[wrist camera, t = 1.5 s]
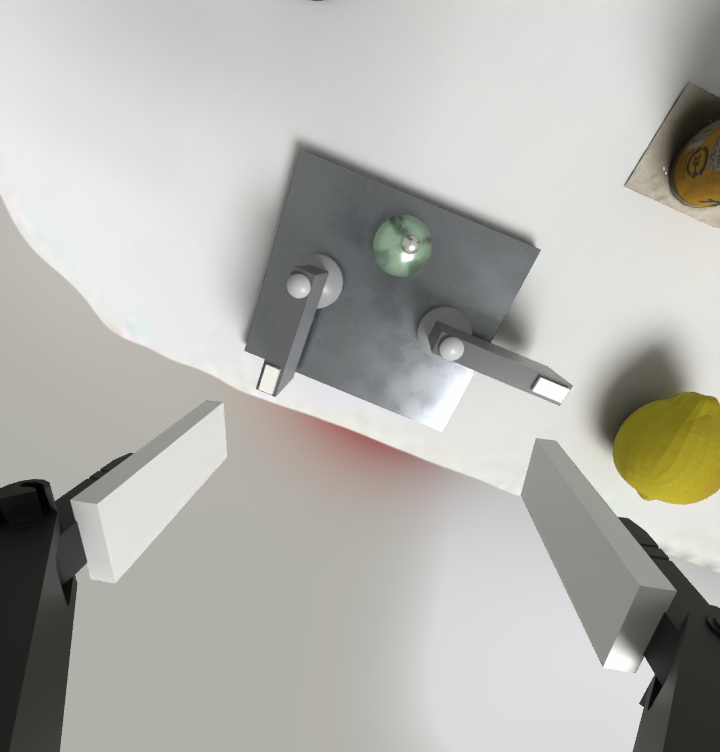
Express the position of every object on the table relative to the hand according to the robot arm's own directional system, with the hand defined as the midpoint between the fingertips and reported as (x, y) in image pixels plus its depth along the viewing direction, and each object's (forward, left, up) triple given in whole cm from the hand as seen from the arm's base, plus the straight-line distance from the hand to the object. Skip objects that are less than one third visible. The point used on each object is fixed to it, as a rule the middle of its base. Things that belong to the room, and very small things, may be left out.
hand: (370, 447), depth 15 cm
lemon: (+19, +18, -22) cm, 34 cm away
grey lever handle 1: (-6, -6, -20) cm, 22 cm away
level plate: (-3, +1, -21) cm, 22 cm away
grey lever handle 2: (+4, +7, -20) cm, 22 cm away
